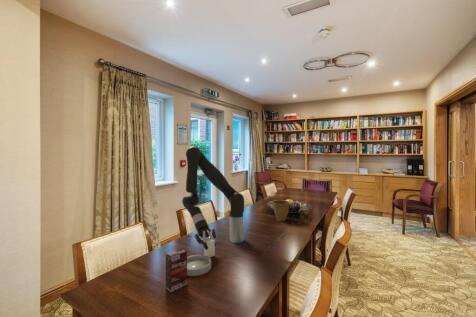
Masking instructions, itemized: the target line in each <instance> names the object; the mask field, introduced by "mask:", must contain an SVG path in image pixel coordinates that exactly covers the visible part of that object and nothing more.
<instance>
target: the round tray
mask: <svg viewBox="0 0 476 317" xmlns="http://www.w3.org/2000/svg"><path fill="white" fill-rule="evenodd" d="M211 269H212V259H211V257H208V256H205V255H204V254H194V255H189V256H187V276H190V277H195V276H202V275H204V274H207V273H208V272H209V271H210V270H211Z"/></svg>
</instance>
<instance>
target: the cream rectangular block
mask: <svg viewBox="0 0 476 317" xmlns="http://www.w3.org/2000/svg"><path fill="white" fill-rule="evenodd" d="M215 240H216V239H215ZM215 240H213V239H211V238H209V239H208V238H205V242H206V244H207V246H208V249H207V250H206V249H205V248H204V247H203V255H205V256H208V257H209V258H211V257H214V256H215V255H216V253H215V252H216V250H215V248H216V246H215V243H216V242H215Z"/></svg>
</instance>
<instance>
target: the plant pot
mask: <svg viewBox="0 0 476 317" xmlns="http://www.w3.org/2000/svg"><path fill="white" fill-rule="evenodd" d="M290 205H291V204H290V201H288V200H283V199H282V200H281V199H280V200H279V199H278V200H273V201H272V208H273V211H274V216H275V218H276V220H277V221H278V222H285V221H286V220H287V216H288V214H289V210H290Z"/></svg>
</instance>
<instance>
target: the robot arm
mask: <svg viewBox="0 0 476 317" xmlns="http://www.w3.org/2000/svg"><path fill="white" fill-rule="evenodd" d="M185 156H186V161H187V162H186V163H187V164H186V165H187V168H186V169H187V173H186V180H185V182H186V184H185V192H187V193H188V194H190V195H186V196H184V197H183V198H182V201H181V202H182V205H183V206H184V209H186V210H187V212H188V213H189V215H190V217H191V219H192V223H193V225H194V228H195V230H196V232H197V233H195V235H193V237H194V239H195V240H196V242H197V243H198V244H199V245H202V246H203V249H204V248H205V249H206V250H207V249H208V246H207V244H206V242H205V240H206V239H209V238H211V239H213V240H216V239H217V234H216V229H215V228H212V229H211V228H209V224H208V222H207V219H206V218H205V215H204V214H203V212H202V210H201V207H199V206H197V205H198V204H199V202H200V199H199V195H198V168H200V170H201V172H202V173H203V174H204V176H205V178H207V179H208V181H209V182H210V183H211V184H212V185H213V186H214V187H215V188H216V189H217V190H219V192H221V193H222V194H223V195H224V196H225V197H226V199H227V201H228V202H229V203H230V211H229V241H230V243H232V244H240V243H243V242H244V241H245V225H244V212H245V198H244V195H243V194H242V193H241V192H239V191H237V190H236V189H235V188H233V186H231V185H230V183H229V182H228V180H227V178H226V176H224V175H223V173H222V172H221V171H220V170H219V168H217V167H216V166H215V165H214V163H212V162H211V161H209V159H208V158H207V157H206V156H205V155H204V154H203V151H202V150H201V149H200V147H198V146H196V145H192V146H189V147H188V148H187V150H186V151H185ZM216 245H217V242H215V247H217V246H216Z"/></svg>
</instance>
